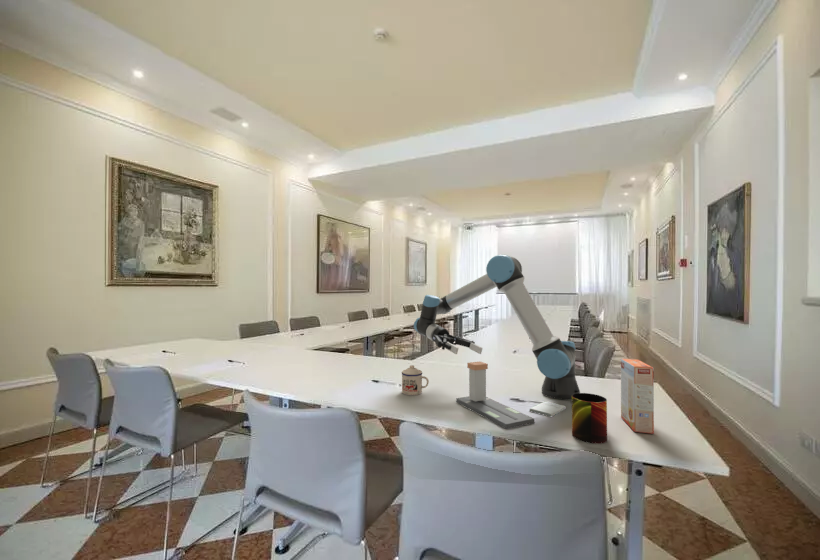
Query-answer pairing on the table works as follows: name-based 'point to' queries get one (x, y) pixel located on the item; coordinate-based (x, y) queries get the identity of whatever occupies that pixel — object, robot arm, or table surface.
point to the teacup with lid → (412, 381)
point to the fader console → (496, 412)
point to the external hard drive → (548, 408)
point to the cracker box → (637, 395)
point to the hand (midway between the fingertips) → (469, 351)
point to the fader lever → (477, 380)
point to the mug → (589, 418)
